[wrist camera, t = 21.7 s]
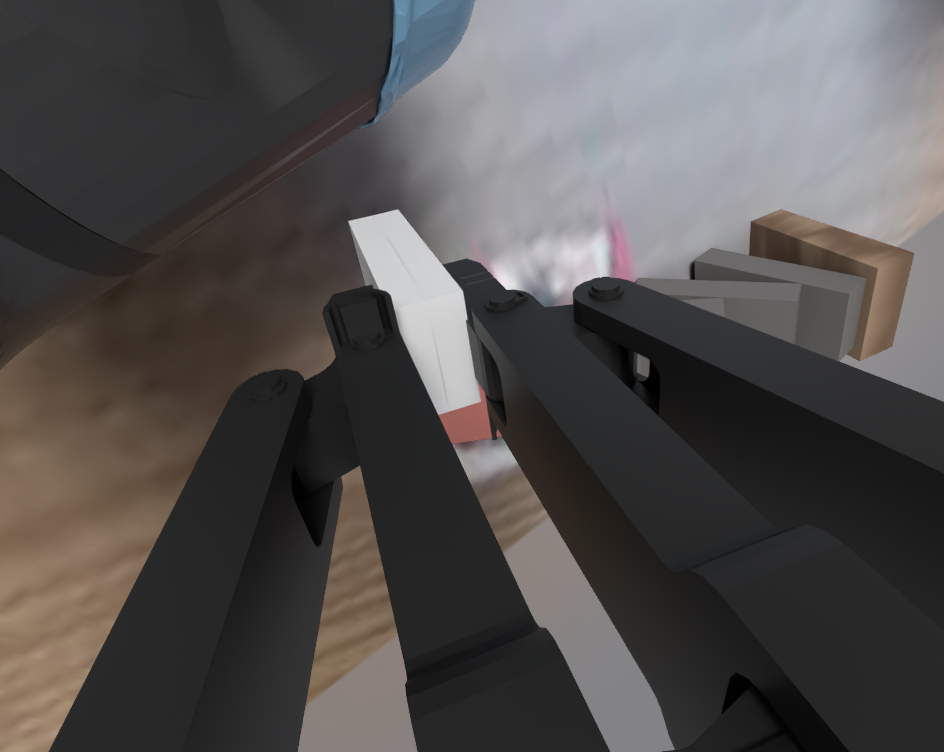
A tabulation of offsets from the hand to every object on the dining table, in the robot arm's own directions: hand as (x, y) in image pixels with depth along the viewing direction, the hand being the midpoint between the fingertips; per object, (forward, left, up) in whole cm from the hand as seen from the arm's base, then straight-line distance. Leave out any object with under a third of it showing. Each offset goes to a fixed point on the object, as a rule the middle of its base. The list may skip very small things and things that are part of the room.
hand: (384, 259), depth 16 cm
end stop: (+33, -21, -21) cm, 45 cm away
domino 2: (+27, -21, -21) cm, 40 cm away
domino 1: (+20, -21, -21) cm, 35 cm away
